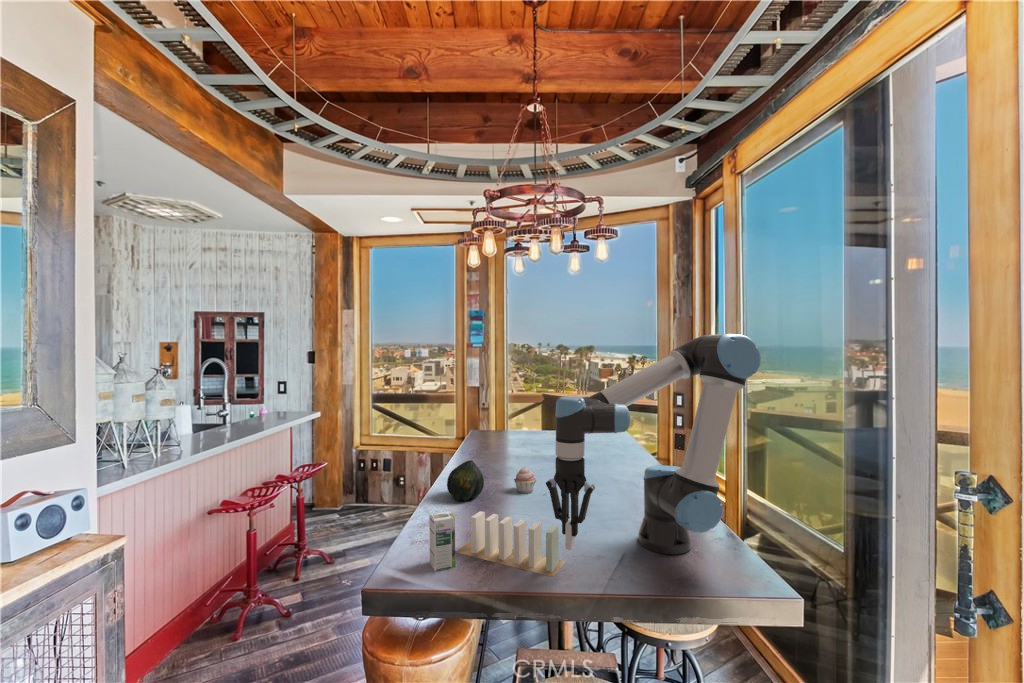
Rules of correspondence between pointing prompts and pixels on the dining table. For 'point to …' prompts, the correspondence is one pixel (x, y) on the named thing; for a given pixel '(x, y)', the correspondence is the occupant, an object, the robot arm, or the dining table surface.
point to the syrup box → (442, 540)
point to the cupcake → (525, 481)
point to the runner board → (511, 560)
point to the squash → (465, 481)
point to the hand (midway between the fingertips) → (569, 547)
